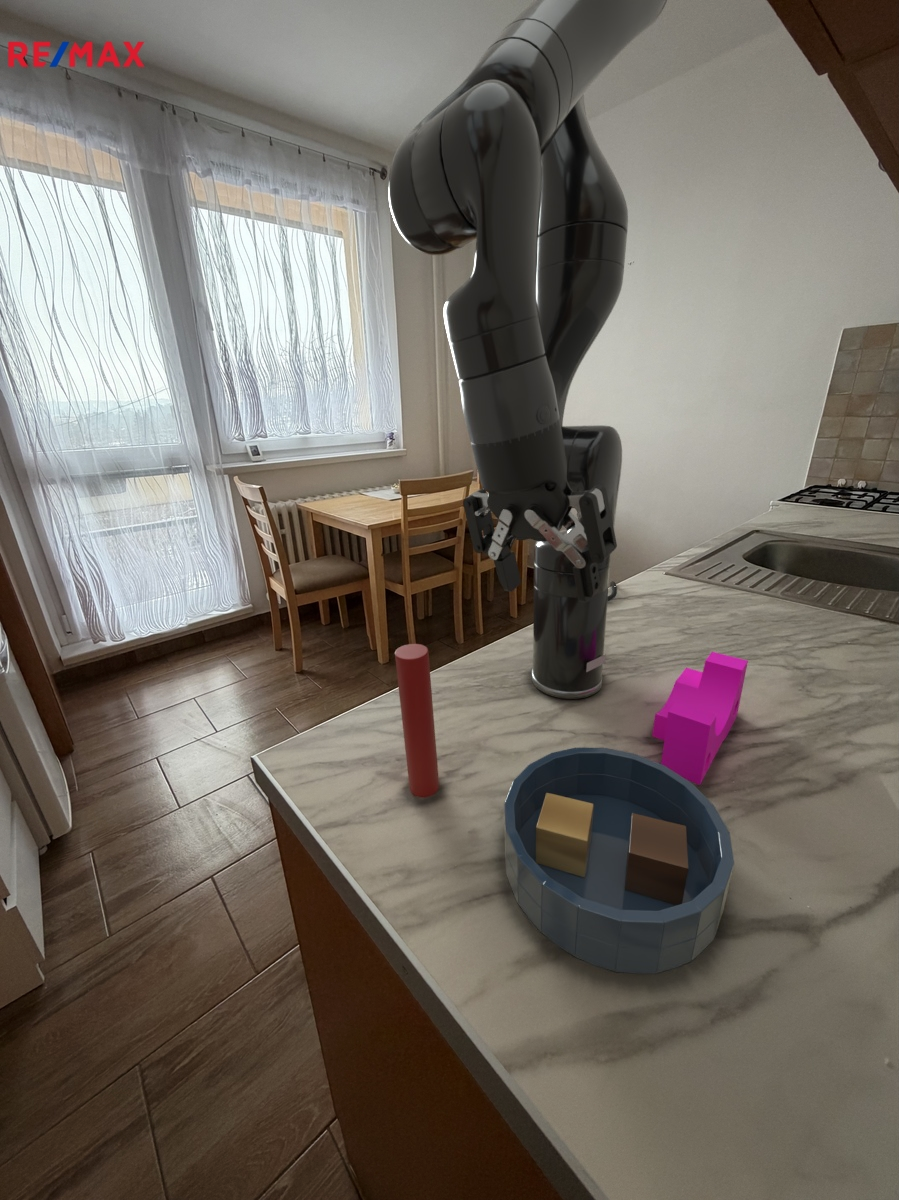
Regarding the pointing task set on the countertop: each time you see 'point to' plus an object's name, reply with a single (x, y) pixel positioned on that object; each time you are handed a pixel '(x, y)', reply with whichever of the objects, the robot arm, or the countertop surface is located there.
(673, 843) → the walnut cube
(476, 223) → the robot arm
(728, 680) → the toy block
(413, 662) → the stirring stick
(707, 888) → the bowl
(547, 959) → the countertop surface
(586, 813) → the birch cube
